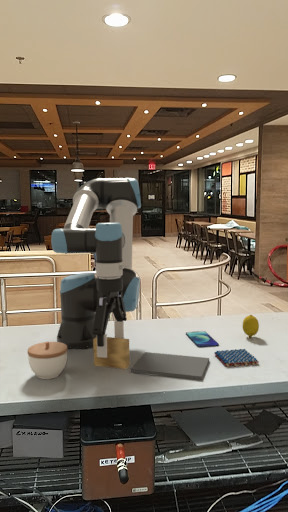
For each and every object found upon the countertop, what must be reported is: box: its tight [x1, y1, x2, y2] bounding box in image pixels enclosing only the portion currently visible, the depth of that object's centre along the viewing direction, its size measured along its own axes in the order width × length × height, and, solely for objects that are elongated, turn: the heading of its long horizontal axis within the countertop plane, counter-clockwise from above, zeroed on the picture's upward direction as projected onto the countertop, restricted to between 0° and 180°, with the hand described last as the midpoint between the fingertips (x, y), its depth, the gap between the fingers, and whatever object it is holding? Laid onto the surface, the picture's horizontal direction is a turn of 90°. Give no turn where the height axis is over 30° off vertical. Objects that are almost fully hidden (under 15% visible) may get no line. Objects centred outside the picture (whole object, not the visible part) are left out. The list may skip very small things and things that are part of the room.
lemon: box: [242, 314, 260, 338], centre depth 148 cm, size 6×6×8 cm
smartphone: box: [185, 330, 220, 348], centre depth 147 cm, size 8×1×15 cm
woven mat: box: [213, 348, 259, 368], centre depth 128 cm, size 10×11×2 cm
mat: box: [130, 351, 210, 381], centre depth 123 cm, size 20×14×1 cm
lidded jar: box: [27, 341, 68, 380], centre depth 118 cm, size 11×11×9 cm
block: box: [92, 336, 131, 370], centre depth 124 cm, size 10×3×8 cm, turn 73°
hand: (111, 349), depth 123 cm, fingers open, 13 cm apart
